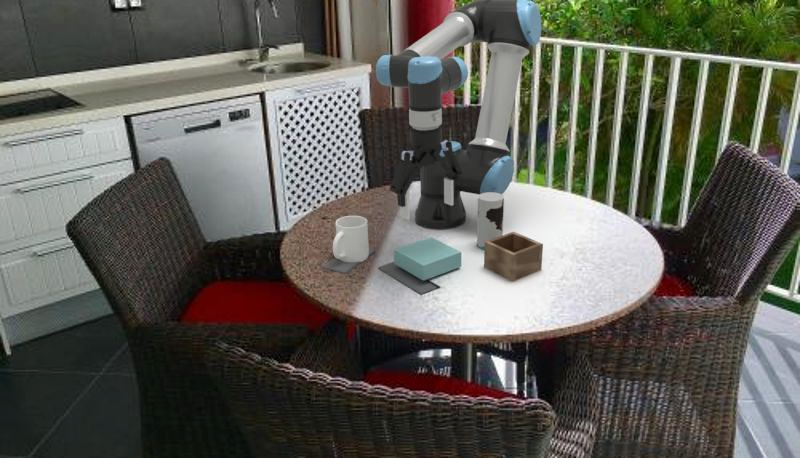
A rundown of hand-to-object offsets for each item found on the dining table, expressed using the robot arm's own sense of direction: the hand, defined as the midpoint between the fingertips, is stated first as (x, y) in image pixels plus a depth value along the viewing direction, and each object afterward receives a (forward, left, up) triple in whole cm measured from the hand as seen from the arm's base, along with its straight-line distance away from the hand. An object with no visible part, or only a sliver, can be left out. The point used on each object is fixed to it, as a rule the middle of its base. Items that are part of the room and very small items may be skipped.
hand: (427, 210), depth 166 cm
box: (+14, +16, -16) cm, 27 cm away
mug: (-18, -12, -16) cm, 27 cm away
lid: (0, 0, -16) cm, 16 cm away
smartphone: (-18, -12, -17) cm, 28 cm away
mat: (0, 0, -16) cm, 16 cm away
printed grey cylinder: (0, +21, -16) cm, 26 cm away
